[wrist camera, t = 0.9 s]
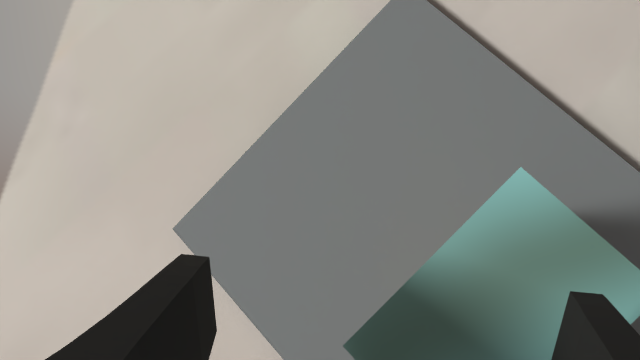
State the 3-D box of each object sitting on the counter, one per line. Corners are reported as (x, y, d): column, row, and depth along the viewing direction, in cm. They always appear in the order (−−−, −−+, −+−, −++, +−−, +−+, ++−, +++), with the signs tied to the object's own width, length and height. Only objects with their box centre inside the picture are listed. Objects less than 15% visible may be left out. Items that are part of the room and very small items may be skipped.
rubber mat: (770, 284, 22) (778, 284, 21) (470, 571, 23) (469, 578, 22) (408, -10, 27) (406, -17, 27) (179, 230, 28) (172, 228, 28)
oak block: (590, 291, 23) (664, 291, 13) (475, 404, 23) (466, 483, 13) (507, 216, 24) (520, 166, 14) (400, 324, 24) (342, 346, 15)
